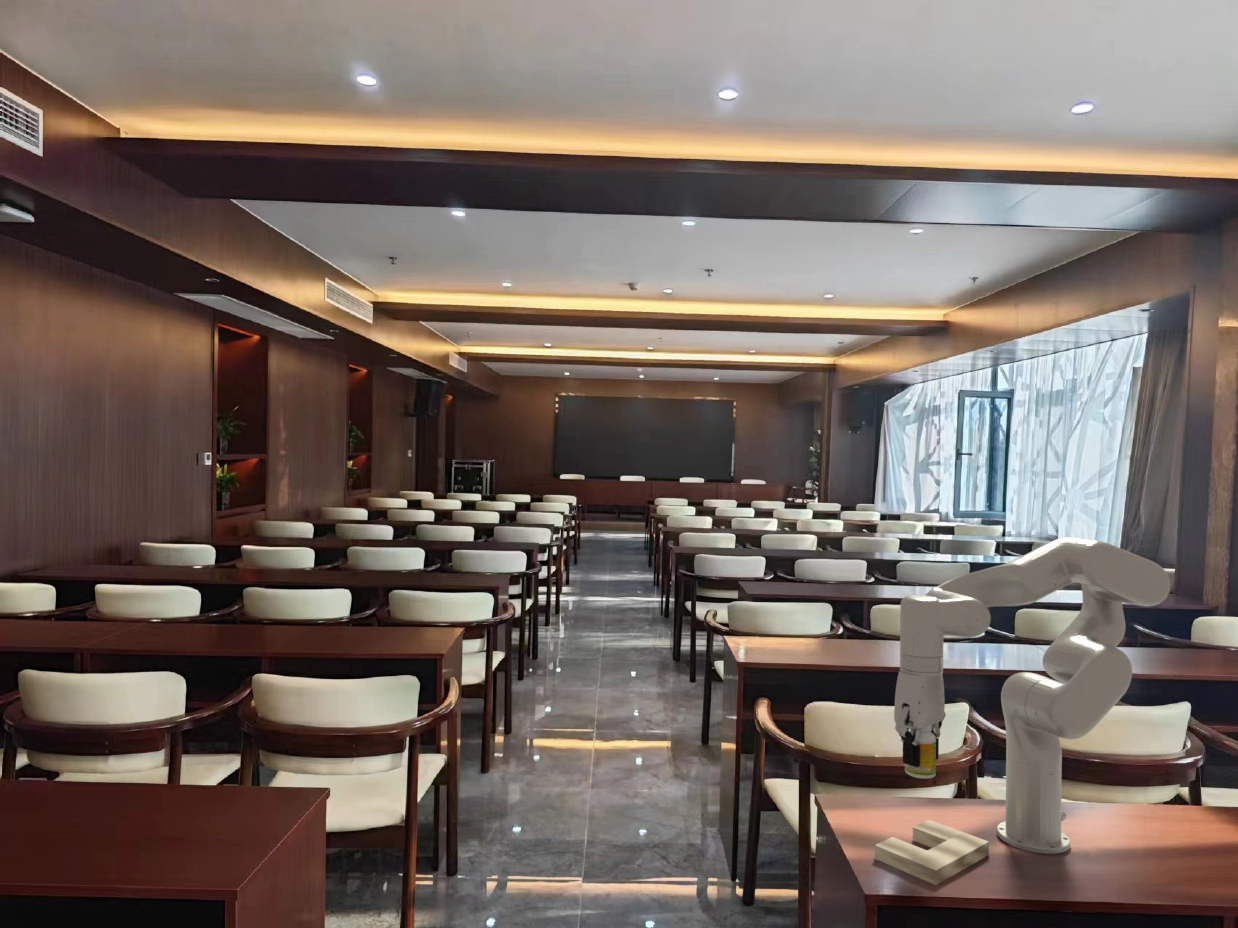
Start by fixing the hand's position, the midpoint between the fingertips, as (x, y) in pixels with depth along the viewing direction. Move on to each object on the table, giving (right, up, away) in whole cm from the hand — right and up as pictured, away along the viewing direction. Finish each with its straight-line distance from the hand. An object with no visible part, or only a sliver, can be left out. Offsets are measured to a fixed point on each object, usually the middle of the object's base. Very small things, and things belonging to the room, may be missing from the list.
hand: (920, 760), depth 153 cm
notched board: (+1, -17, -2) cm, 17 cm away
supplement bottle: (0, -3, 0) cm, 3 cm away
